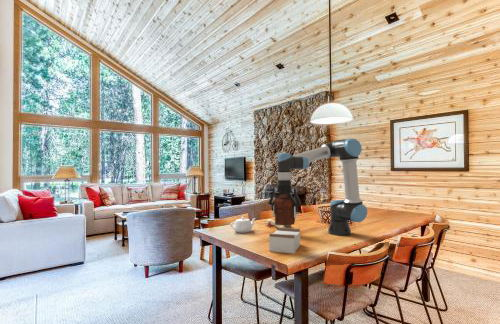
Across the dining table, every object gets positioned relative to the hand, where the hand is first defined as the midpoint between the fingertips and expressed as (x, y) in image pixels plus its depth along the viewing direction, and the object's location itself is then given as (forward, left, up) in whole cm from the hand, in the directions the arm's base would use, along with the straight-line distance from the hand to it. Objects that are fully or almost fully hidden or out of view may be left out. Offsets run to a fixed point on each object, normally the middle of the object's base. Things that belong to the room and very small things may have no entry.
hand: (284, 217), depth 162 cm
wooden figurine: (0, 0, -4) cm, 4 cm away
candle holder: (+6, -33, -18) cm, 38 cm away
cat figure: (+19, -50, -18) cm, 57 cm away
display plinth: (0, 0, -18) cm, 18 cm away
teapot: (+38, -31, -18) cm, 52 cm away
